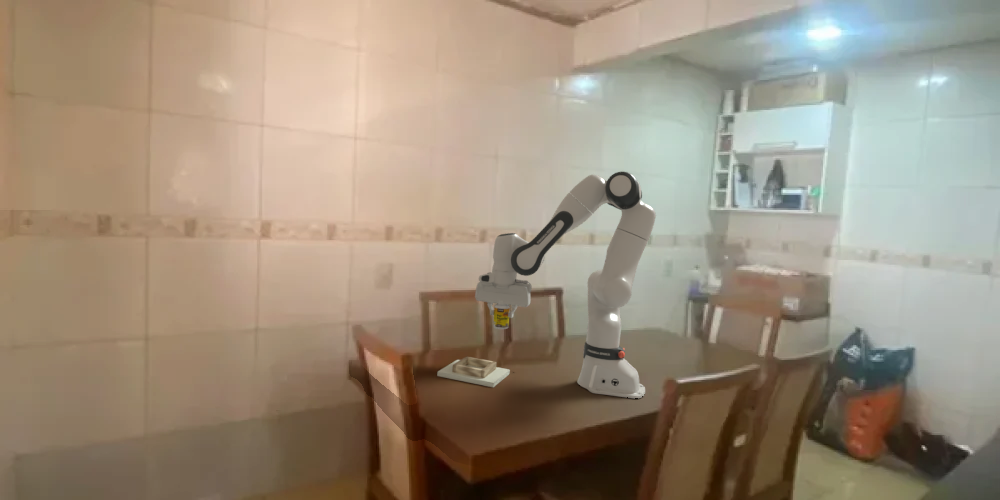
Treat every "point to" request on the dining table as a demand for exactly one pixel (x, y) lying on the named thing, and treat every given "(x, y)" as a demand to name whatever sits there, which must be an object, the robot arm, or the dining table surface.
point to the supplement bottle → (501, 315)
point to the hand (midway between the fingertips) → (501, 316)
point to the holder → (475, 371)
